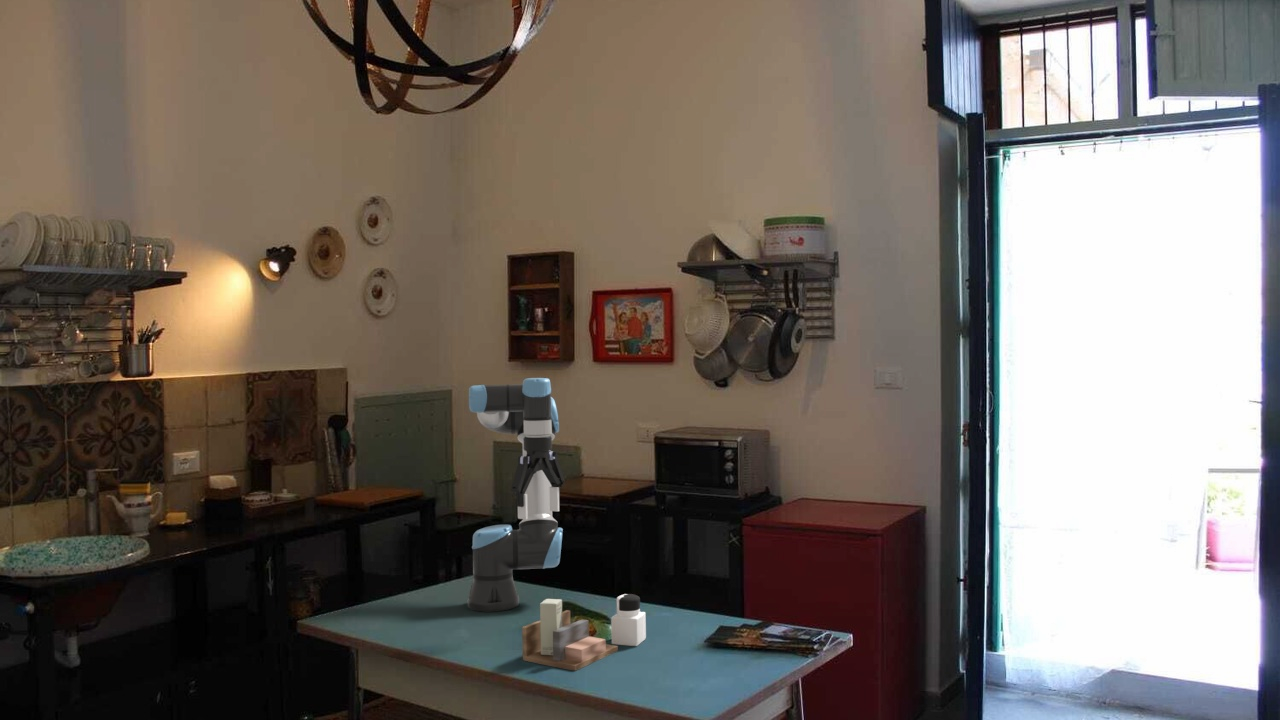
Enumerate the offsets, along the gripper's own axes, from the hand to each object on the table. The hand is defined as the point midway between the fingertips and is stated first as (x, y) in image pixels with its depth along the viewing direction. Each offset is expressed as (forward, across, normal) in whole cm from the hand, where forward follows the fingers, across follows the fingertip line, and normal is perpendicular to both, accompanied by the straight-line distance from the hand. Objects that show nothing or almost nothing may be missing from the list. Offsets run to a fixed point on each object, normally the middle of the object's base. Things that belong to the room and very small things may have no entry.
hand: (539, 514), depth 274 cm
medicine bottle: (+32, -5, +25) cm, 41 cm away
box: (+31, +16, +16) cm, 38 cm away
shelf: (+32, +12, +19) cm, 39 cm away
